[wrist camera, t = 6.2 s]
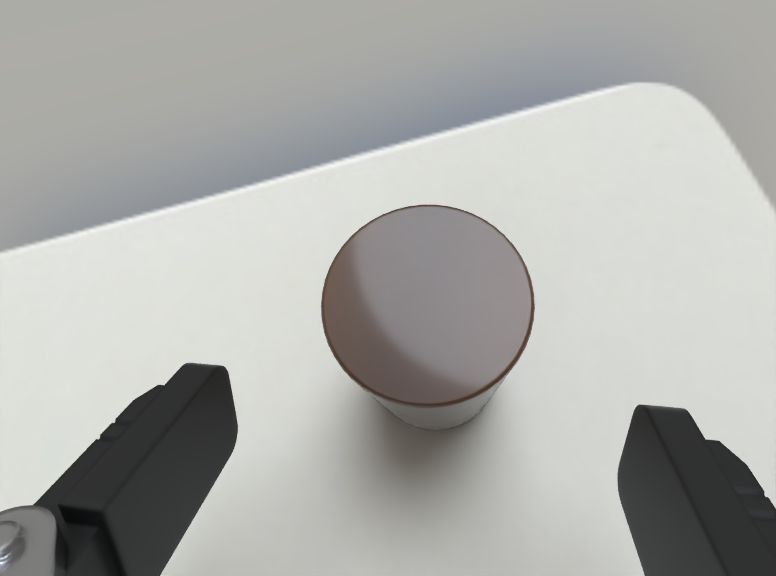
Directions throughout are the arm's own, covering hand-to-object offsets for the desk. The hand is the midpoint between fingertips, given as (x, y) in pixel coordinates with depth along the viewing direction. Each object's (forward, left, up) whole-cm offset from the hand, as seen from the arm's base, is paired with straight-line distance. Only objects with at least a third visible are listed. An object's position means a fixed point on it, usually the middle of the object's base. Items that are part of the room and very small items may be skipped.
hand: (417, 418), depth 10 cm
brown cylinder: (0, -2, -7) cm, 8 cm away
